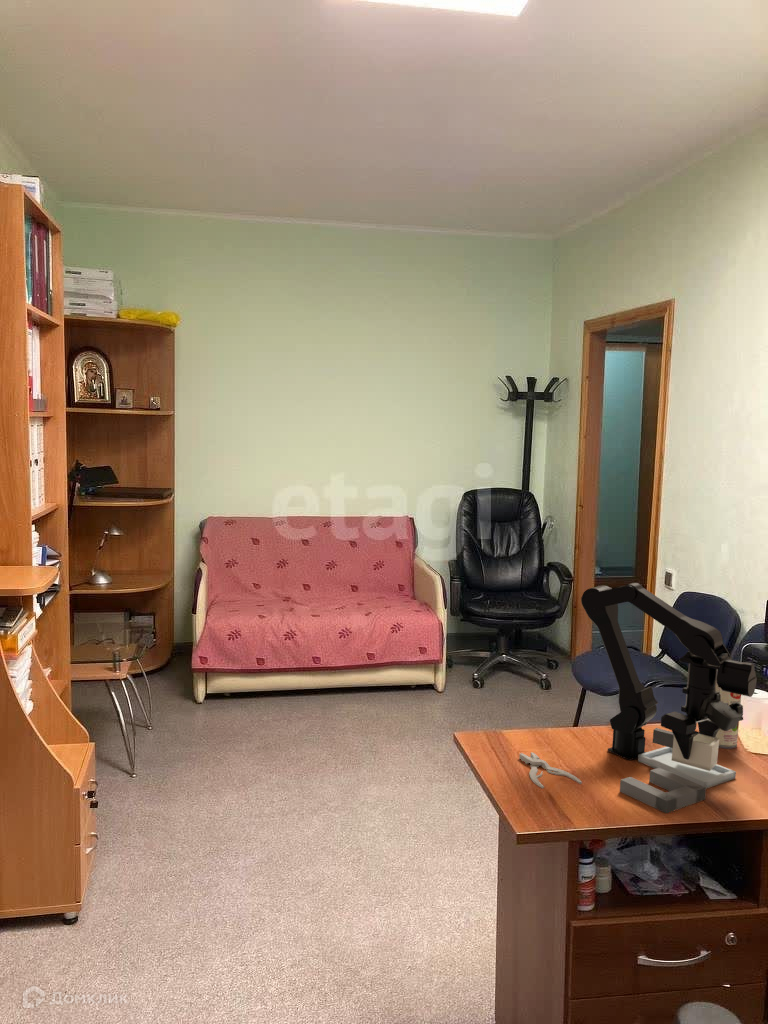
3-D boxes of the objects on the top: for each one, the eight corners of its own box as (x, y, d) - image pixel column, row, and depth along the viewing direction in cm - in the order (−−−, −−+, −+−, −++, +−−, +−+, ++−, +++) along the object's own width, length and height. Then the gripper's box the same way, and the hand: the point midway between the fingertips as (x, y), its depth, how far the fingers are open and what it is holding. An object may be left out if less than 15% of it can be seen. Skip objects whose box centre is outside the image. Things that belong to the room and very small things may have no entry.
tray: (637, 761, 179) (638, 754, 179) (669, 751, 186) (669, 745, 186) (704, 789, 166) (704, 782, 166) (735, 778, 172) (735, 771, 172)
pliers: (541, 782, 163) (506, 754, 177) (540, 790, 163) (505, 761, 177) (583, 777, 166) (545, 750, 180) (582, 785, 166) (545, 757, 180)
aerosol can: (730, 751, 188) (737, 667, 186) (701, 742, 192) (708, 661, 191) (741, 743, 193) (747, 662, 191) (712, 735, 197) (718, 656, 196)
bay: (619, 791, 163) (620, 779, 163) (658, 779, 170) (659, 767, 170) (666, 813, 154) (667, 801, 154) (705, 799, 161) (705, 787, 161)
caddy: (648, 754, 177) (650, 729, 176) (656, 746, 181) (659, 723, 181) (709, 771, 169) (712, 746, 169) (717, 763, 174) (719, 738, 173)
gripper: (709, 703, 160) (703, 778, 162) (761, 689, 171) (755, 760, 172) (662, 687, 169) (656, 759, 171) (714, 676, 180) (708, 743, 181)
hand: (695, 755), depth 173 cm, fingers closed on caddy, 6 cm apart
